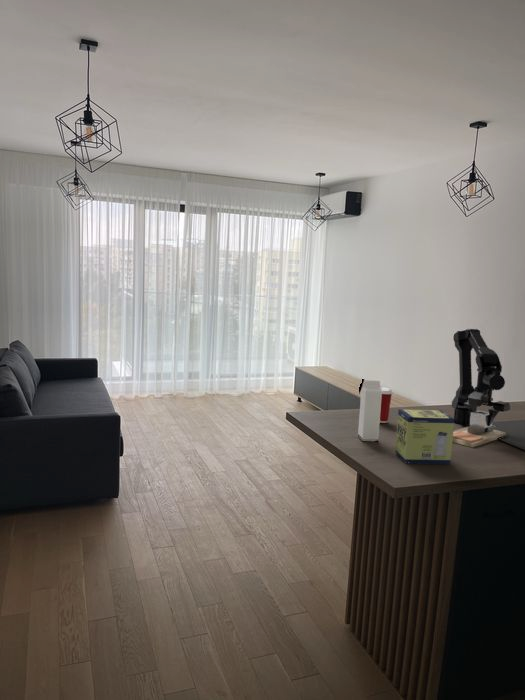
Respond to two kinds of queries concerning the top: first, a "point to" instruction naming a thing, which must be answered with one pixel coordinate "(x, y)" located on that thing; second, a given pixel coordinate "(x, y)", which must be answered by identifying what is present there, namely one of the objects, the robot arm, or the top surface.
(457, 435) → the board
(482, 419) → the steel collar
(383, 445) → the top surface
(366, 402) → the milk
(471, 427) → the bench vise
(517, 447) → the top surface
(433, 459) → the protein box
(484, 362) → the robot arm
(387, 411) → the paper cup
